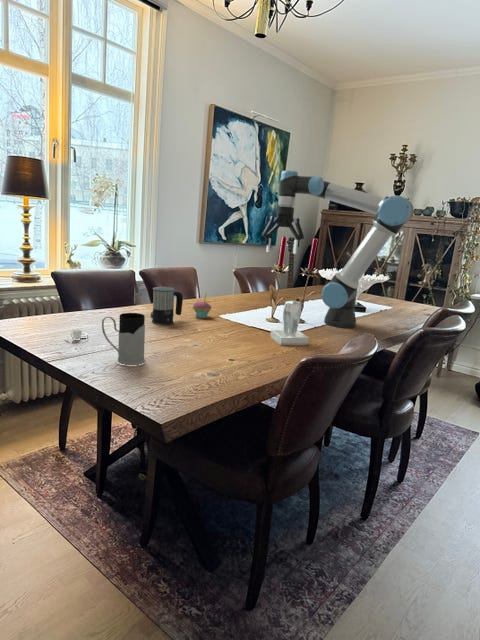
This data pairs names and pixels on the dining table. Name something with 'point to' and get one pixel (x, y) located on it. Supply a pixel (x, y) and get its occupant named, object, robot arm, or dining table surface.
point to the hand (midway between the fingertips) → (281, 253)
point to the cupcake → (202, 308)
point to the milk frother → (165, 305)
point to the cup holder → (289, 338)
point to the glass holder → (130, 338)
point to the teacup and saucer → (78, 334)
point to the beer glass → (291, 318)
